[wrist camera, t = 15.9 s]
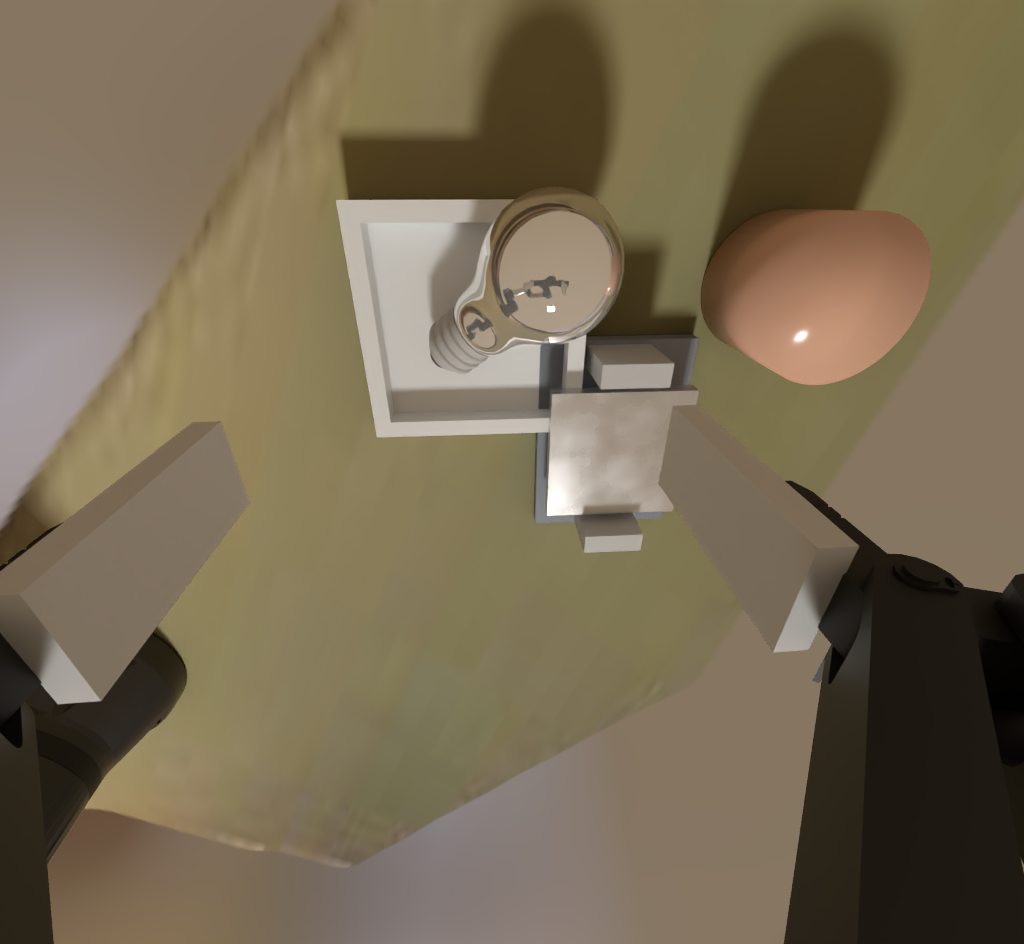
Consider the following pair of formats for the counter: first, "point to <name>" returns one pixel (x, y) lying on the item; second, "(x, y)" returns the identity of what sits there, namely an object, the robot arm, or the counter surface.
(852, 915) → the robot arm
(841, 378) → the peach rounded pebble
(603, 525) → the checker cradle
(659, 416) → the plate
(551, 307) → the light bulb
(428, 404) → the tray
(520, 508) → the counter surface
